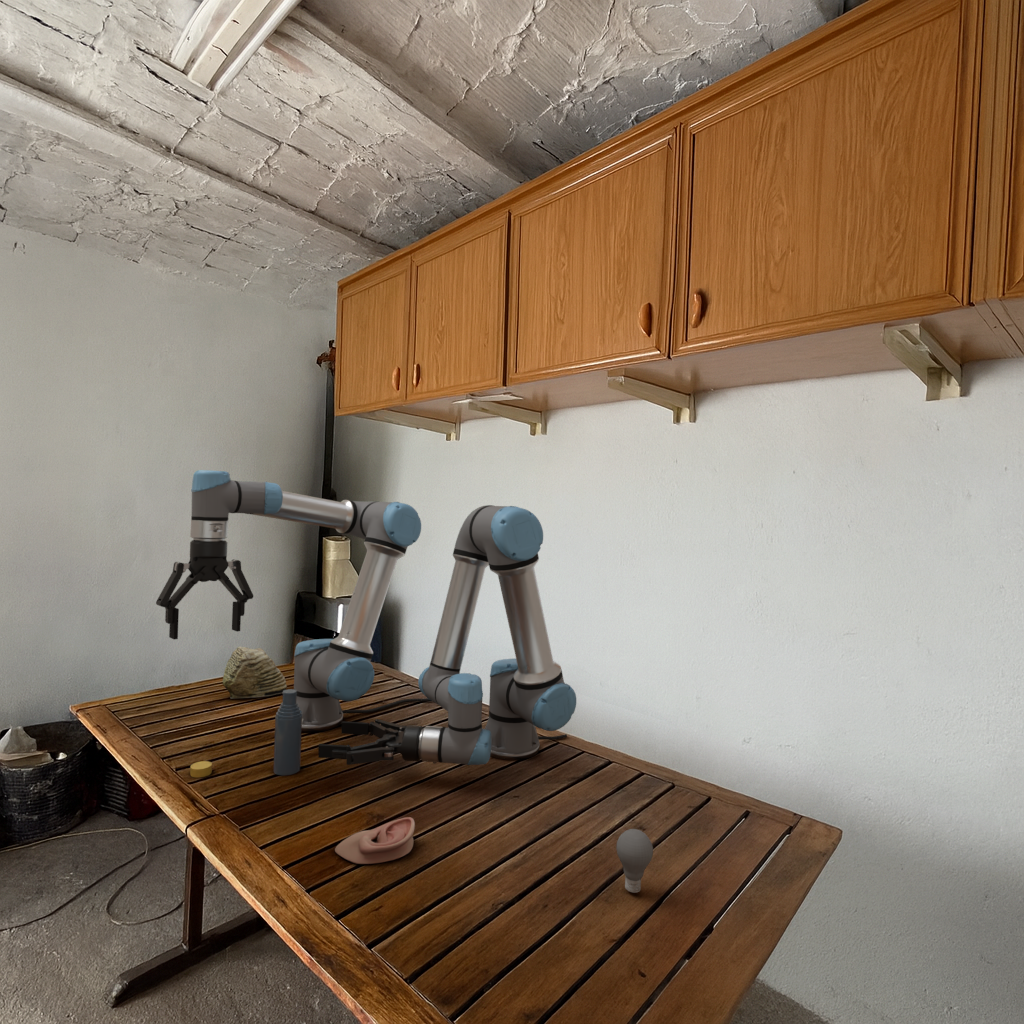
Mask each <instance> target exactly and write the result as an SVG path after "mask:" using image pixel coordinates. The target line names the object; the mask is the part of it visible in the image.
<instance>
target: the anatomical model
mask: <svg viewBox="0 0 1024 1024" xmlns="http://www.w3.org/2000/svg"><path fill="white" fill-rule="evenodd" d="M415 828H416V823H415V820H414V818H413V817H410V816H409V817H402V818H398V819H395V820H392V821H389V822H386V823H384V824H382V825H380V826H377V827H375V828H372V829H368V830H361V831H358V832H356V833H353V834H352V835H350V836H348V837H346V838H345V839H343V840H342V841H340V843H338V844H337V845H336V846H335V848H334V852H335V853H336V854H337V855H338V856H340V857H341V858H343V859H344V860H347V861H348V862H351V863H353V864H357V865H369V864H370V865H371V864H380V863H385V862H390V861H394V860H398V859H400V858H402V857H404V856H407V855H408V854H409V853H410V852H411V851H412V849H413V847H414V837H413V835H414V833H415Z"/></svg>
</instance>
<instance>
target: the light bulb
mask: <svg viewBox="0 0 1024 1024" xmlns="http://www.w3.org/2000/svg"><path fill="white" fill-rule="evenodd" d="M615 849H616V854H617V857H618V859H619V861H620V863H621V865H622V867H623V873H624V874H623V875H624V876H625V878H624V888H625V890H627V891H628V892H630V893H634V894H635V893H639V892H640V891H641V889H642V887H641V886H642V879H643V877H644V875H645V871H646V868H647V867H648V866H649V864H650V863H651V861H652V859H653V855H654V847H653V843H652V841H651V838H649V836H648V835H647V834H646V833H645V832H643V831H642V830H641V829H636V828H629V829H627V830H625V831H623V832H622V833H621V834H620V835H619V837H618V839H617V841H616V847H615Z"/></svg>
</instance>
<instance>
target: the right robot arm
mask: <svg viewBox="0 0 1024 1024" xmlns="http://www.w3.org/2000/svg"><path fill="white" fill-rule="evenodd" d="M543 543H544V530H543V526H542V524H541V521H540V520H539V518H538V517H537V516H536V515H535V514H534V513H533V512H531V511H530V510H528V509H526V508H523V507H519V506H515V505H507V506H506V505H493V504H492V505H491V504H487V505H481V506H479V507H477V508H475V509H473V510H472V511H471V512H470V513H469V514H468V515H467V517H466V518H465V519H464V521H463V523H462V525H461V527H460V529H459V532H458V534H457V537H456V541H455V544H454V547H453V551H452V557H453V559H454V564H453V565H454V566H453V569H452V574H451V579H450V581H449V585H448V590H447V593H446V598H445V601H444V606H443V610H442V614H441V617H440V621H439V625H438V630H437V634H436V637H435V642H434V646H433V651H432V655H431V659H430V663H429V666H428V667H426V668H424V669H423V670H422V672H421V673H420V674H419V677H418V679H417V680H418V682H417V683H418V685H417V686H418V689H419V691H420V692H421V694H423V695H424V697H426V698H428V699H429V700H431V701H433V702H432V703H435V704H436V705H438V706H439V707H441V708H442V709H443V710H445V711H447V727H446V726H433V725H426V726H424V727H423V726H422V725H411V724H410V725H402V724H401V725H400V724H398V723H394V722H390V721H386V720H383V719H379V718H376V719H374V721H370V722H364V721H363V722H362V721H361V722H360V721H344V720H343V721H342V722H341V724H340V725H341V727H340V734H341V735H359V736H370V737H372V736H373V737H377V739H376V740H375V741H373V742H367V743H364V744H359V745H356V746H351V745H350V744H347V745H345V744H330V743H329V744H327V743H326V744H325V743H319V744H318V751H317V752H318V754H317V755H318V757H317V758H320V759H336V760H337V759H338V760H346V765H347V766H351V765H358V764H367V763H374V762H380V761H394V758H395V755H397V754H400V755H401V757H402V759H403V760H404V761H406V762H420V761H422V762H424V763H432V764H433V765H436V764H437V763H441V764H457V765H466V766H483V765H487V763H489V761H490V758H491V757H492V758H495V759H500V760H505V761H506V760H509V761H518V760H526V759H529V758H532V757H535V756H536V755H538V753H539V752H540V741H541V740H545V741H556V740H557V741H558V740H561V739H566V738H568V735H567V734H566V733H565V734H561V735H556V736H555V735H554V736H548V735H546V736H545V735H538V732H537V729H536V728H538V729H541V730H543V731H545V732H546V731H547V732H554V731H558V730H560V729H562V728H563V727H565V726H566V725H567V724H568V723H569V722H570V720H572V717H573V714H575V711H576V708H577V694H576V692H575V690H574V688H573V687H572V686H571V685H569V684H568V683H566V682H565V680H564V675H563V670H562V667H561V665H560V663H558V662H557V661H555V660H554V658H553V653H552V647H551V643H550V637H549V633H548V628H547V623H546V619H545V618H546V617H545V614H544V609H543V604H542V600H541V594H540V590H539V585H538V580H537V575H536V570H535V567H536V565H537V564H538V562H539V561H540V557H539V552H540V551H541V546H542V545H543ZM487 567H489V570H490V572H492V573H494V574H496V575H497V577H498V581H499V587H500V591H501V595H502V600H503V601H502V602H503V605H504V610H505V614H506V618H507V623H508V627H509V633H510V638H511V641H512V642H511V643H512V647H513V651H514V656H515V658H503V659H498V660H495V661H494V662H493V663H492V664H491V667H490V674H489V702H488V703H489V704H488V705H489V706H488V719H487V722H486V724H485V727H484V728H483V723H482V719H483V717H482V716H483V697H484V692H483V691H484V690H483V681H482V678H481V677H480V676H479V675H478V674H475V673H470V672H469V673H467V672H462V673H461V668H462V664H463V660H464V656H465V652H466V648H467V644H468V642H469V641H468V640H469V636H470V631H471V628H472V624H473V620H474V616H475V612H476V608H477V603H478V599H479V596H480V592H481V588H482V584H483V579H484V576H485V571H486V569H487Z"/></svg>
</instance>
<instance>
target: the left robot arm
mask: <svg viewBox="0 0 1024 1024" xmlns="http://www.w3.org/2000/svg"><path fill="white" fill-rule="evenodd" d="M229 514H245V515H252V516H258V517H265V518H269V519H277V520H283V521H287V522H294V523H300V524H306V525H311V526H318V527H324V528H330V529H335V530H336V532H337V533H339V534H344V535H350V536H352V537H356V538H359V539H362V540H364V542H363V545H364V546H365V549H366V553H365V556H364V559H363V562H362V564H361V568H360V571H359V575H358V577H357V580H356V582H355V585H354V589H353V591H352V594H351V598H350V600H349V604H348V606H347V610H346V612H345V616H344V619H343V622H342V624H341V627H340V631H339V633H338V636H336V637H335V638H319V639H308V640H303V641H300V642H297V644H296V646H295V650H294V655H293V657H294V672H293V689H294V690H297V700H296V702H298V705H299V708H300V710H301V711H302V733H316V732H325V731H329V730H332V729H335V728H337V727H339V726H340V725H341V722H342V721H344V715H345V714H346V715H347V714H369V713H375V712H378V711H381V710H384V709H388V708H392V707H394V706H397V705H401V704H405V703H416V702H417V703H421V702H423V703H425V702H426V703H427V702H432V703H434V702H433V701H431V700H429V699H428V698H427V697H426V698H425V697H423V698H417V697H416V698H406V699H400V700H396V701H393V702H390V703H387V704H384V705H381V706H377V707H374V708H369V709H342V706H341V702H340V701H342V702H353V701H357V700H358V699H360V698H361V697H363V696H364V695H366V693H367V692H368V691H369V690H370V689H371V688H372V685H373V683H374V680H375V669H374V666H373V664H372V662H371V661H372V658H373V656H374V651H373V649H372V647H371V643H372V640H373V637H374V634H375V630H376V628H377V625H378V621H379V619H380V615H381V612H382V609H383V606H384V603H385V599H386V596H387V594H388V591H389V587H390V584H391V581H392V579H393V575H394V572H395V570H396V565H397V563H398V560H400V559H402V558H403V557H405V555H406V553H407V551H408V550H407V549H408V547H410V546H412V545H413V544H415V543H416V542H417V541H418V540H419V538H420V535H421V532H422V520H421V518H420V516H419V513H418V511H417V510H416V509H415V508H414V507H413V506H412V505H410V504H407V503H403V502H400V501H379V500H377V501H376V500H373V501H371V500H370V501H360V500H350V499H342V500H341V501H337V500H332V499H326V498H321V497H317V496H310V495H306V494H301V493H295V492H291V491H287V490H282V488H281V486H280V485H279V484H278V483H277V482H268V481H247V480H232V479H231V474H230V472H228V471H225V470H224V471H223V470H212V469H211V470H210V469H209V470H208V469H199V470H195V472H194V473H193V476H192V482H191V518H190V532H189V533H190V535H189V537H190V538H191V539H192V540H191V541H190V542H189V561H188V562H180V561H175V562H174V563H173V567H172V572H171V574H170V576H169V578H168V579H167V581H166V583H165V585H164V587H163V588H162V590H161V592H160V594H159V596H158V598H157V599H156V601H155V604H156V605H157V606H159V607H162V608H164V609H165V618H164V620H165V623H166V624H167V625H169V630H168V631H169V635H168V638H170V639H171V640H178V639H179V638H178V637H179V616H180V615H179V614H180V609H179V608H177V606H178V604H179V603H180V602H181V601H182V600H183V599H184V597H186V596H187V594H188V593H189V592H190V591H191V589H192V588H193V587H194V586H195V585H197V584H198V583H199V582H201V583H207V582H209V581H211V582H217V581H219V582H220V583H221V584H222V585H223V586H224V588H225V589H226V590H227V591H228V592H229V593H230V595H231V596H232V597H233V598H234V599H235V601H232V608H231V609H232V611H231V631H234V632H241V625H242V623H241V621H242V620H241V619H242V617H243V616H245V610H246V609H245V607H246V603H248V601H249V600H253V598H254V594H253V591H252V588H251V587H250V584H249V583H248V581H247V579H246V576H245V574H244V573H243V570H242V561H241V560H239V559H231V560H229V561H228V560H227V557H228V541H227V540H226V539H227V538H228V536H229V535H228V534H229V516H230V515H229ZM228 568H229V570H231V572H232V574H233V577H234V578H235V581H236V583H237V585H238V587H239V588H237V586H236V585H235V584H234V583H233V581H231V579H230V577H229V576H228V575H227V574H226V573H225V572H226V570H227V569H228ZM187 570H188V571H189V572H190V573H189V575H187V576H186V578H185V580H184V581H183V583H182V584H181V585H180V586H179V587H178V588H177V586H178V584H179V582H180V580H181V578H182V576H183V574H184V573H185V572H186V571H187ZM176 588H177V589H176ZM175 589H176V590H175ZM239 589H240V590H239ZM174 591H175V592H174Z"/></svg>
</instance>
